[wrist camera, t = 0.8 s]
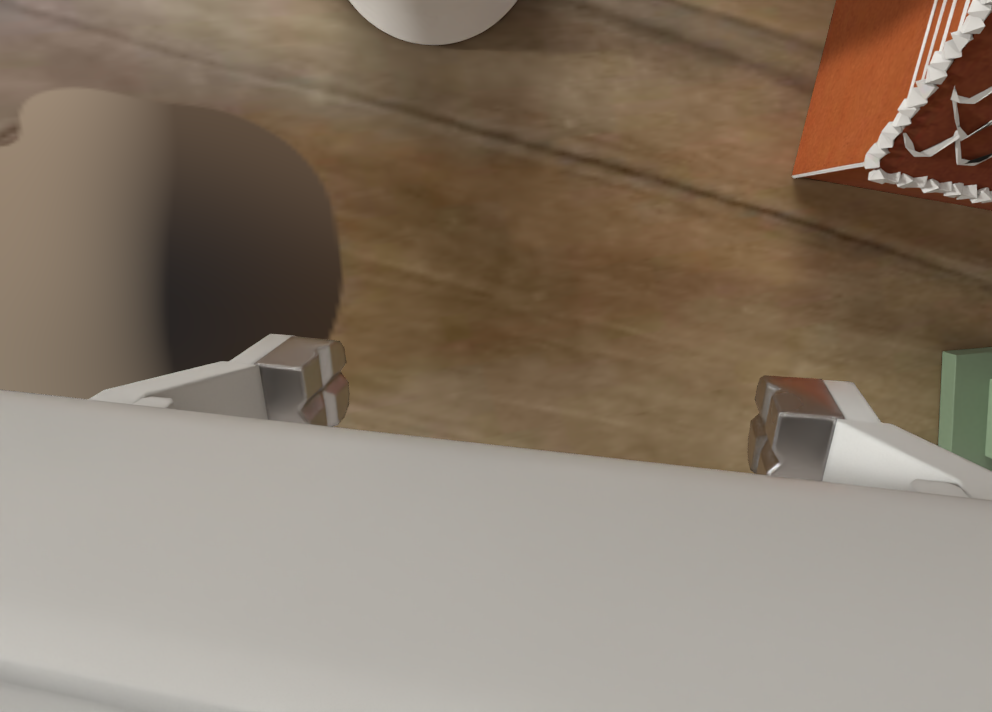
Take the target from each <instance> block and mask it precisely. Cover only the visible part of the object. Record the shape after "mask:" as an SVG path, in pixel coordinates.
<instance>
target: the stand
mask: <svg viewBox="0 0 992 712" xmlns="http://www.w3.org/2000/svg"><path fill="white" fill-rule="evenodd" d="M938 446H939V447H941V448H943V449H945V450H948V451H950V452H952V453H954V454H956V455H958V456H960V457H962V458H964V459H967V460H969V461H971V462H973V463H975V464H977V465H979V466H981V467H983V468H986V469H988V470H990V471H992V347H986V348H975V349H963V350H952V351H943V354H942V375H941V396H940V417H939V439H938Z"/></svg>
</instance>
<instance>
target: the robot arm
mask: <svg viewBox="0 0 992 712" xmlns="http://www.w3.org/2000/svg"><path fill="white" fill-rule="evenodd" d="M349 1H350V3H351V4H352V5H353V6H354V7H355V9H356V10H357V11H358V12H359V13H360V14H361V15H362V16H363V17H364V18H366V19H367V20H368V21H369V22H370V23H372V24H373V25H374V26H376V27H377V28H379V29H380V30H382V31H383V32H385V33H387V34H389V35H391V36H393V37H396V38H398V39H401V40H404V41H407V42H411V43H416V44H423V45H445V44H452V43H456V42H460V41H463V40H466V39H469V38H471V37H474V36H476V35H478V34H480V33H482V32H483V31H485V30H487V29H488V28H490V27H491V26H493V25H494V24H495V23H496V22H498V21H499V20H500V19H501V18H502V17H503V16H504V15H505V14H506V13H507V12H508V11H509V10H510V9H511V8H512V7H513V5H514V4H515V3H516V1H517V0H349ZM346 363H347V362H346V355H345V348H344V346H343V345H342V343H341V342H340V341H335V340H325V339H314V338H305V337H295V336H294V335H293V336H292V335H276V334H269V335H268V336H266V337H265V338H263V339H262V340H261V341H259V342H257V343H256V344H254V345H253V346H251V347H250V348H249V349H247V350H245V351H244V352H243V353H241V354H240V355H238V356H237V357H235V358H234V359H232V360H231V361H229V362H223V361H221V362H217V363H213V364H209V365H205V366H201V367H196V368H192V369H188V370H184V371H180V372H176V373H172V374H168V375H164V376H160V377H155V378H151V379H147V380H143V381H139V382H135V383H131V384H127V385H123V386H119V387H114V388H110V389H107V390H104V391H102V392H100V393H99V394H97V395H95V396H93V397H92V398H90V399H78V398H70V397H61V396H52V395H42V394H34V393H25V392H16V391H7V390H0V712H992V471H990V470H988V469H986V468H983V467H981V466H979V465H977V464H975V463H973V462H971V461H969V460H967V459H964V458H962V457H960V456H958V455H956V454H954V453H952V452H950V451H948V450H945V449H943V448H941V447H939V446H937V445H935V444H933V443H931V442H929V441H926V440H924V439H922V438H920V437H918V436H916V435H914V434H912V433H910V432H907V431H905V430H903V429H901V428H899V427H897V426H895V425H893V424H887V423H881V421H880V420H879V418H878V417H877V415H876V414H875V413H874V411H873V410H872V408H871V407H870V405H869V404H868V403H867V401H866V400H865V398H864V397H863V395H862V394H861V393H860V391H859V390H858V388H857V387H856V385H855V384H854V383H852V382H849V381H831V380H822V379H812V378H796V377H779V376H762V377H761V378H760V380H759V383H758V386H757V390H756V396H755V402H756V405H757V408H758V411H759V414H758V415H757V416H756V417H755V418H754V419H753V420H751V423H750V430H749V436H748V461H749V466H750V470H751V471H753V472H754V473H755V474H752V473H743V472H734V471H725V470H716V469H707V468H698V467H689V466H680V465H671V464H662V463H653V462H644V461H635V460H626V459H617V458H608V457H599V456H590V455H581V454H572V453H563V452H554V451H545V450H536V449H527V448H518V447H509V446H500V445H491V444H482V443H473V442H464V441H455V440H446V439H437V438H428V437H419V436H410V435H401V434H392V433H383V432H374V431H365V430H356V429H347V428H338V427H333V426H336V425H338V424H339V423H340V422H341V421H342V419H343V418H344V417H345V414H346V411H347V408H348V406H349V395H350V392H349V382H348V381H347V379H346V378H345V377H344V376H343V374H342V373H341V370H342V369H343V367H344V366H345V364H346Z"/></svg>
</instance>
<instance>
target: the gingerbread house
mask: <svg viewBox="0 0 992 712" xmlns="http://www.w3.org/2000/svg"><path fill="white" fill-rule="evenodd" d="M792 175H793V176H792V177H793V178H798V177H804V178H810V179H816V180H821V181H827V182H833V183H838V184H844V185H850V186H856V187H861V188H867V189H873V190H878V191H884V192H890V193H895V194H901V195H907V196H912V197H918V198H924V199H930V200H935V201H941V202H947V203H952V204H958V205H964V206H969V207H975V208H981V209H986V210H992V0H836V3H835V7H834V11H833V15H832V19H831V23H830V27H829V31H828V35H827V39H826V43H825V47H824V51H823V55H822V59H821V62H820V66H819V70H818V74H817V78H816V82H815V86H814V90H813V94H812V98H811V102H810V106H809V110H808V114H807V118H806V121H805V125H804V129H803V133H802V137H801V141H800V145H799V149H798V153H797V157H796V161H795V165H794V169H793V173H792Z"/></svg>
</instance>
